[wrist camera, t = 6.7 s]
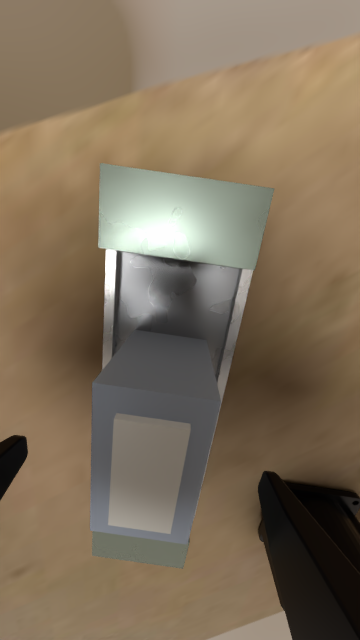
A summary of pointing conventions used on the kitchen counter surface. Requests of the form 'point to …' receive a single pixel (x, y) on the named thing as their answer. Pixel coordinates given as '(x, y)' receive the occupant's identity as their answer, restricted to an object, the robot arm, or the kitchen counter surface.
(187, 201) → the rail
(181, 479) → the block
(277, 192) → the kitchen counter surface
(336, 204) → the kitchen counter surface
